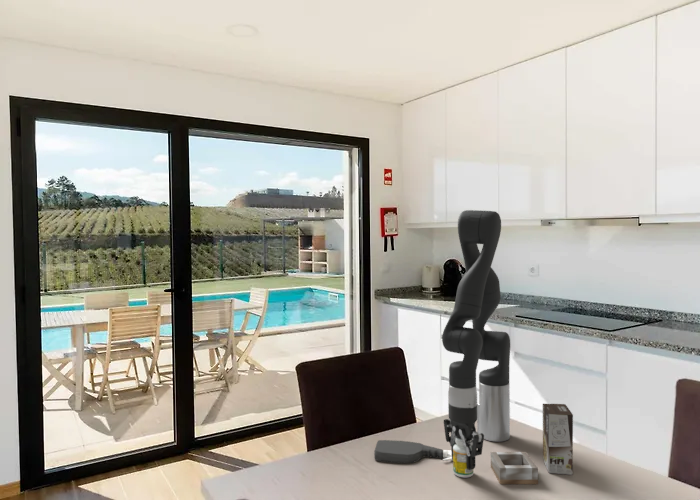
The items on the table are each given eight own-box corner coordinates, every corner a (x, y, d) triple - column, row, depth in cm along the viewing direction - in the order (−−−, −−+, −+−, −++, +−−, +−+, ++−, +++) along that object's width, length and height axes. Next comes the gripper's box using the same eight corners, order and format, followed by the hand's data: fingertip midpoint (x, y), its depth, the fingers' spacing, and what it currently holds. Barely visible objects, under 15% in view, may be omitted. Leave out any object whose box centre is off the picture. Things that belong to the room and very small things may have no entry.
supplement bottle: (471, 479, 134) (471, 443, 133) (451, 476, 136) (450, 440, 135) (475, 470, 139) (474, 435, 138) (455, 467, 141) (455, 432, 140)
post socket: (500, 484, 131) (499, 468, 131) (490, 467, 141) (490, 452, 141) (537, 484, 131) (537, 467, 131) (526, 467, 141) (526, 451, 140)
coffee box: (573, 475, 135) (573, 414, 135) (548, 473, 137) (547, 413, 136) (566, 460, 144) (566, 403, 144) (542, 458, 146) (542, 402, 145)
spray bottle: (377, 447, 156) (459, 453, 152) (373, 463, 145) (461, 470, 141) (377, 438, 156) (460, 443, 152) (373, 453, 145) (461, 459, 141)
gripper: (434, 396, 141) (435, 457, 142) (469, 412, 128) (470, 479, 129) (456, 392, 145) (457, 451, 145) (492, 407, 132) (493, 472, 132)
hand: (463, 464), depth 137 cm, fingers closed on supplement bottle, 5 cm apart
